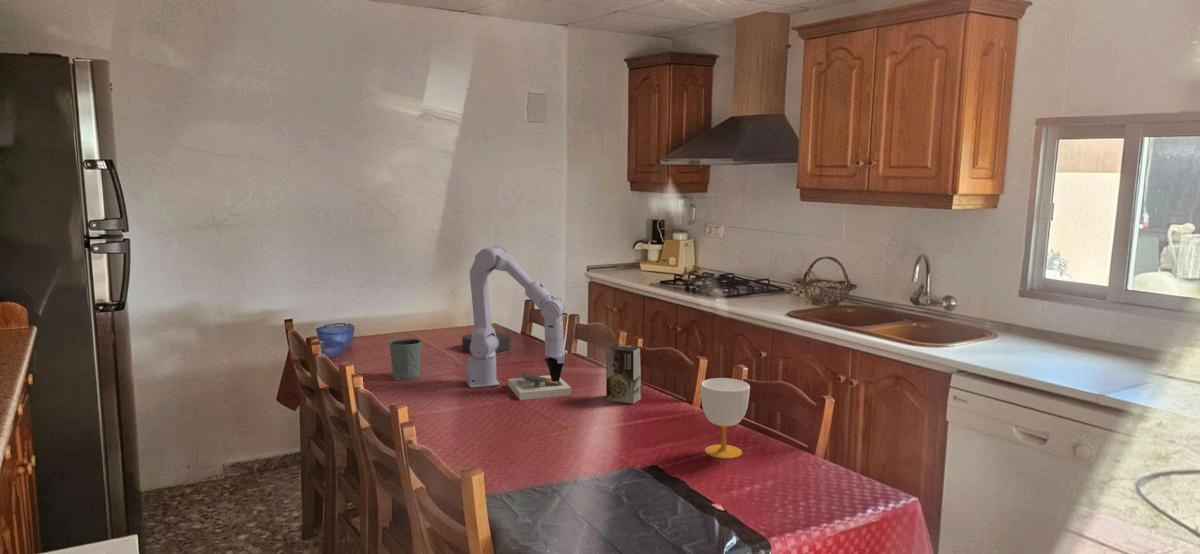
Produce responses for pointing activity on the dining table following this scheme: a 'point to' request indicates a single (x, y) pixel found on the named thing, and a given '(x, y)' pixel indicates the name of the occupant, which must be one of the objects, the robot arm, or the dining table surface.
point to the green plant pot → (405, 358)
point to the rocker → (538, 379)
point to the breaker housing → (538, 389)
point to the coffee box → (623, 373)
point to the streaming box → (503, 338)
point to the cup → (724, 410)
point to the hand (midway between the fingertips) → (555, 380)
